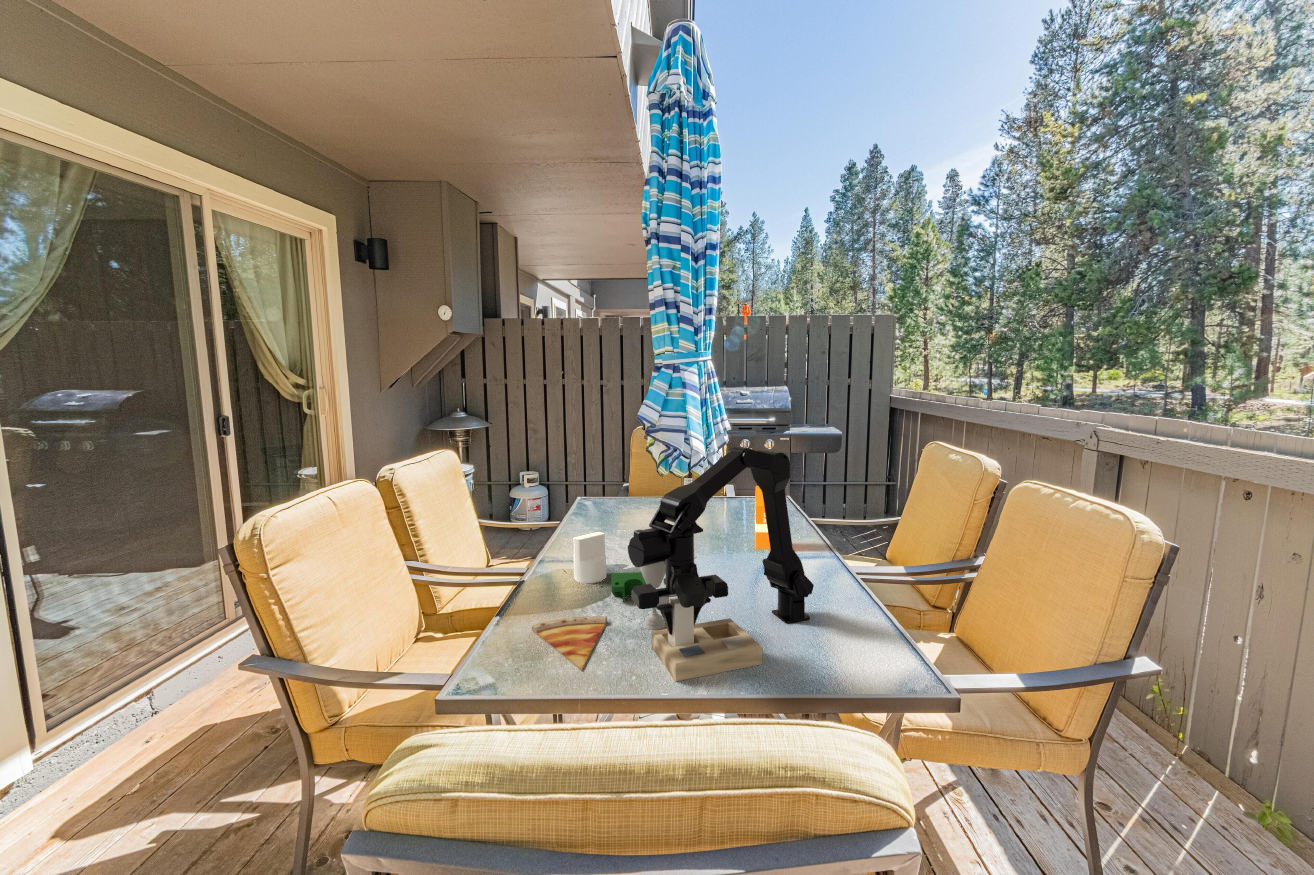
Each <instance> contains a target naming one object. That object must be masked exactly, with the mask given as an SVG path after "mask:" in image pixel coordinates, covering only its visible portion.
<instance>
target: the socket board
mask: <svg viewBox="0 0 1314 875" xmlns="http://www.w3.org/2000/svg"><path fill="white" fill-rule="evenodd" d="M650 633H651V634H650V635H651V636H650V637H651V649H652V650H653V652H654V653H655V654H656V656H657V657H658V659H659V660H660V661H661V663H662V665H663V666H664V667H665V668H666V670H667V671H668V673H669V674H670V676H671V677H672V679H673V680H674V681H675V682H680V681H685V680H691V679H696V678H699V677H705V676H709V675H715V674H719V673H720V674H721V673H725V672H729V671H734V670H735V671H736V670H739V669H744V668H749V667H755V666H759V665H760V666H761V665H763V646H762V645H761V644H760V643H758V642H757V640H755V639H754V638H753V637H752V636H751V635H750V634H748V632H746V631H745V629H743V628H742V627H741V626H739V624H737V623H736V622H735V621H734V620H733V619H732V618H730V617H729V618H723V619H718V620H710V621H705V622H700V623H695V625H694V644H689V645H683V646H677V647H671V646H670V645H669V643H668V630H667V628H662V629H658V630H651V632H650Z"/></svg>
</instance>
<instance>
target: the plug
mask: <svg viewBox="0 0 1314 875" xmlns="http://www.w3.org/2000/svg"><path fill="white" fill-rule="evenodd" d="M669 603H670V604H671V605H672V606H673V608H672V610H671V616H672V627H673V629H672V635H670V634H669V632H668V643H669V645H670V646H671V647H677V646H683V645H689V644H694V606H691V607H689V608H684V607H682V606H681V604H680V601H679V599H678V597H677V596H675V597H669Z"/></svg>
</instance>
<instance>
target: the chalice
mask: <svg viewBox="0 0 1314 875" xmlns="http://www.w3.org/2000/svg"><path fill="white" fill-rule="evenodd" d="M639 568H640V569H639V570H640V571H641V572H642V575H643V578H644V580H645V582H646V584H651V585H652V586H653V587H654V588H655V589H659V588H660V587H661V585H662V583H663V581H664V578H665V577H666V573H665V565H664V561H663V562H660V563H655V564H651V565H647V566H643V567H639ZM642 626H643V628H645V629H647V630H651V631H657V630H663V629H665V627H666V625H665V622H664V620H663V617H662V615H661V613H660V612H658V611H657V609H656V607H655V608H651V611H650V612H649V613H648V614H647V615H646V617H645V619H644V622H643V624H642Z"/></svg>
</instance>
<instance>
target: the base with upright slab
mask: <svg viewBox="0 0 1314 875" xmlns="http://www.w3.org/2000/svg"><path fill="white" fill-rule="evenodd" d="M605 536H606V534H605V532H602V531H595V532H591V533H586V534H583V535H578V536H575V537H573V540H572V543H573V544H572V545H573V558H572V559H573V578H574V579H575V580H576V581H575V580H574V579H573V580H574V581H575V582H576V583H577V582H578V583H581V584H595V583H596V582H597V583H600V582H603V581H604V580H603V579H605V578H607V556H606V555H607V554H606V542H605V541H606V538H605ZM602 580H603V581H602ZM605 580H606V579H605ZM599 581H600V582H599Z"/></svg>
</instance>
